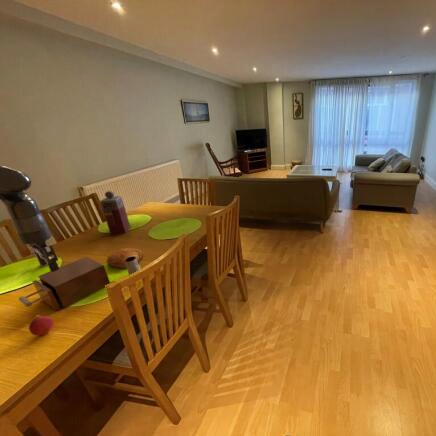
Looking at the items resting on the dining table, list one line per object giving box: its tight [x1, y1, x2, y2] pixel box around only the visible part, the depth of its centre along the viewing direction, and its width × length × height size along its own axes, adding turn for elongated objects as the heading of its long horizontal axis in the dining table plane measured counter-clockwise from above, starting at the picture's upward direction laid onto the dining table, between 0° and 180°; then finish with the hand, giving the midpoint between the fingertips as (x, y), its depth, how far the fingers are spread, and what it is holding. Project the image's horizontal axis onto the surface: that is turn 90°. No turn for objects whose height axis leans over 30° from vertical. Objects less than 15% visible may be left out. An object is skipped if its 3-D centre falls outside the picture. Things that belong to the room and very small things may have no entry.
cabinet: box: [37, 256, 111, 309], centre depth 102 cm, size 17×15×11 cm
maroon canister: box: [99, 190, 131, 235], centre depth 154 cm, size 9×11×28 cm
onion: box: [28, 314, 55, 336], centre depth 82 cm, size 6×6×8 cm
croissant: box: [106, 247, 143, 269], centre depth 125 cm, size 14×16×8 cm
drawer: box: [18, 279, 61, 311], centre depth 98 cm, size 21×14×9 cm, turn 152°
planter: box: [125, 257, 141, 276], centre depth 111 cm, size 4×4×10 cm
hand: (50, 267), depth 88 cm, fingers open, 8 cm apart
